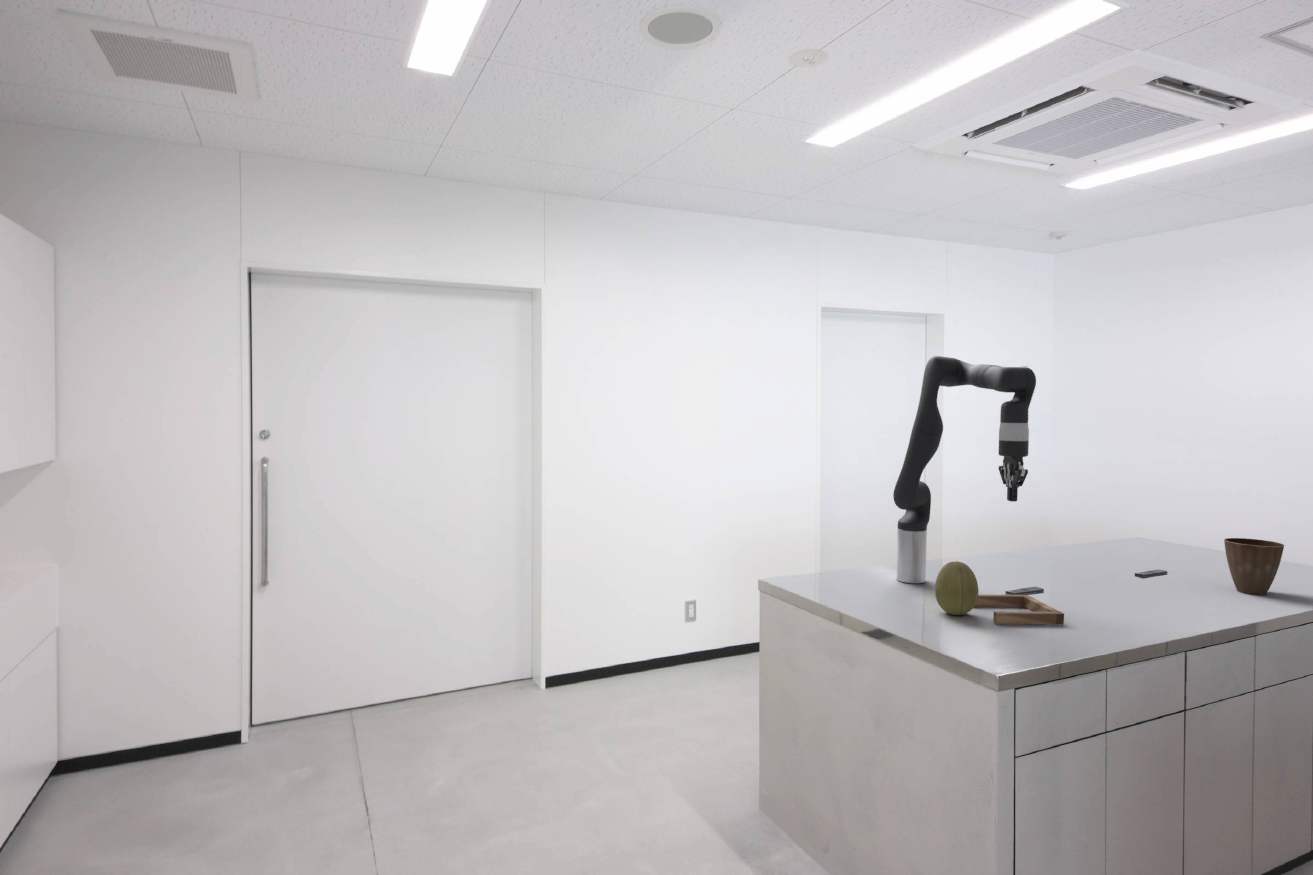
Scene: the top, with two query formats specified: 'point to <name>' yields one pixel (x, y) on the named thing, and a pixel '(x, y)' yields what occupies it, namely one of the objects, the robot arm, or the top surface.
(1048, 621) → the walnut bay
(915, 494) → the robot arm
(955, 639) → the top surface
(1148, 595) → the top surface
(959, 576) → the fruit
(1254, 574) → the plant pot
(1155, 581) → the top surface
